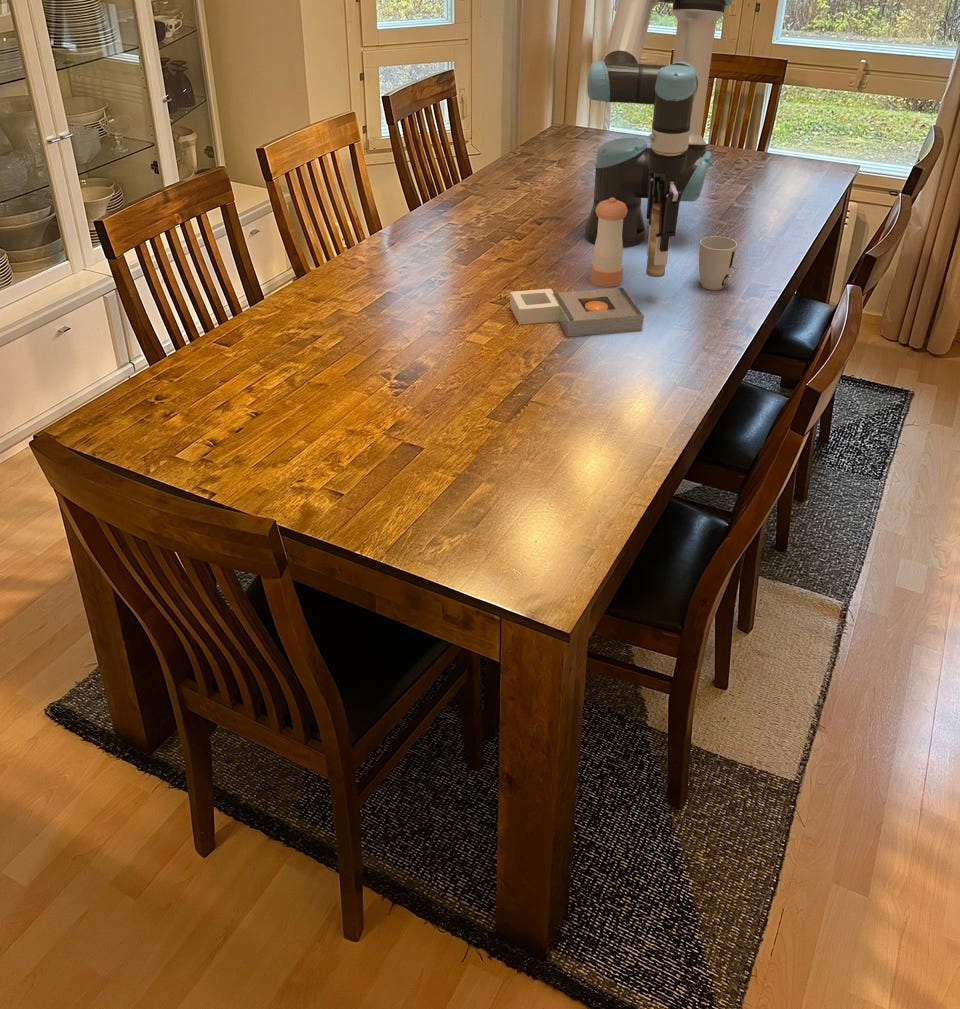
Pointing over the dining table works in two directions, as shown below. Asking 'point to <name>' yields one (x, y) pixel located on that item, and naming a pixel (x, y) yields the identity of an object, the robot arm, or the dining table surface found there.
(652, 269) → the brown wooden cylinder
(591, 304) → the button
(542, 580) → the dining table surface
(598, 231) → the salt shaker
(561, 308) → the grey square frame
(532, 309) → the holder
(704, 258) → the cup
